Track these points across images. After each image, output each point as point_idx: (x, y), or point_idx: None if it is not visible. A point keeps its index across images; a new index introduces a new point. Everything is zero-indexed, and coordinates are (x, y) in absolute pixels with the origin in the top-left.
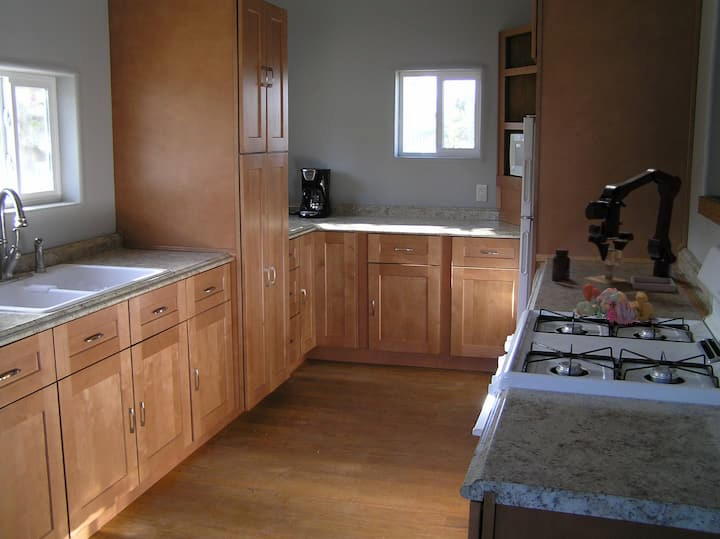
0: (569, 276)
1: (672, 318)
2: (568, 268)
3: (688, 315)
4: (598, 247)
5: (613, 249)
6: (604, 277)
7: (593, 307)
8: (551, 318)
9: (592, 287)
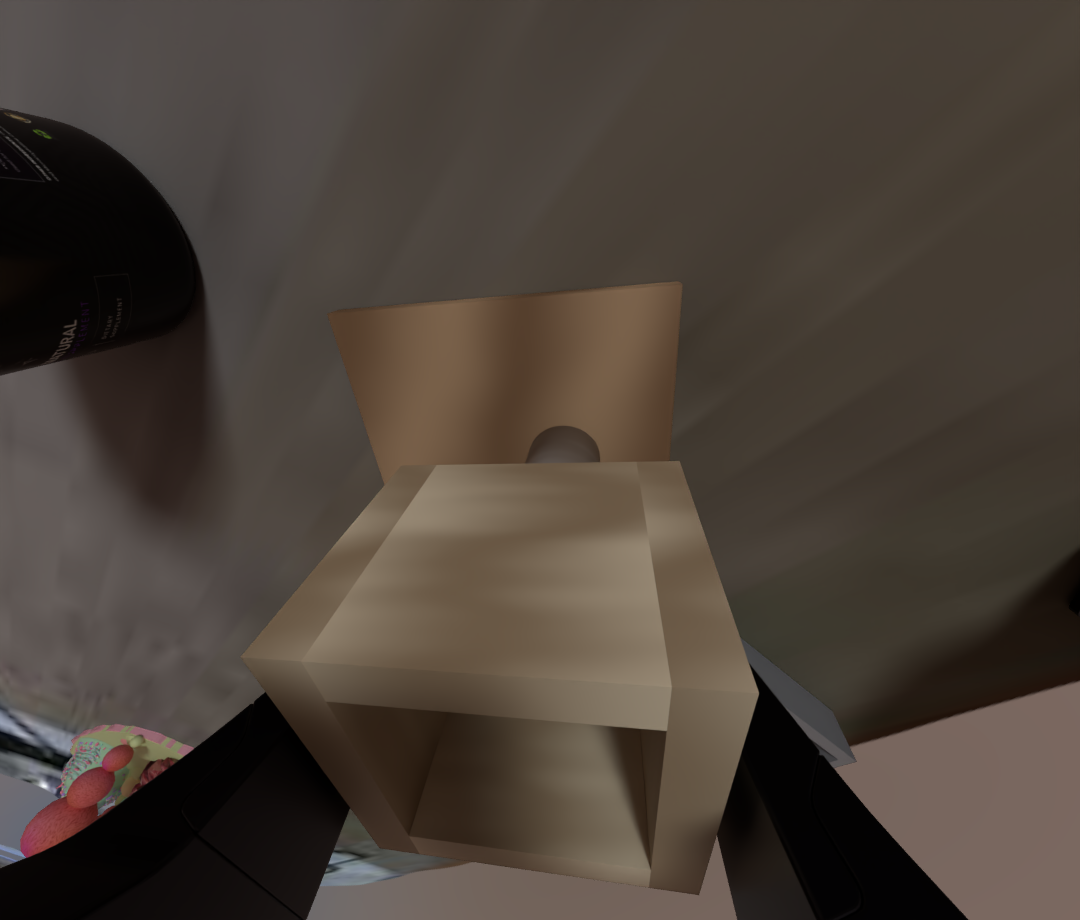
0: (140, 335)
1: (338, 849)
2: (8, 372)
3: (399, 857)
4: (113, 828)
5: (691, 789)
6: (577, 393)
7: (144, 758)
8: (7, 742)
9: None
